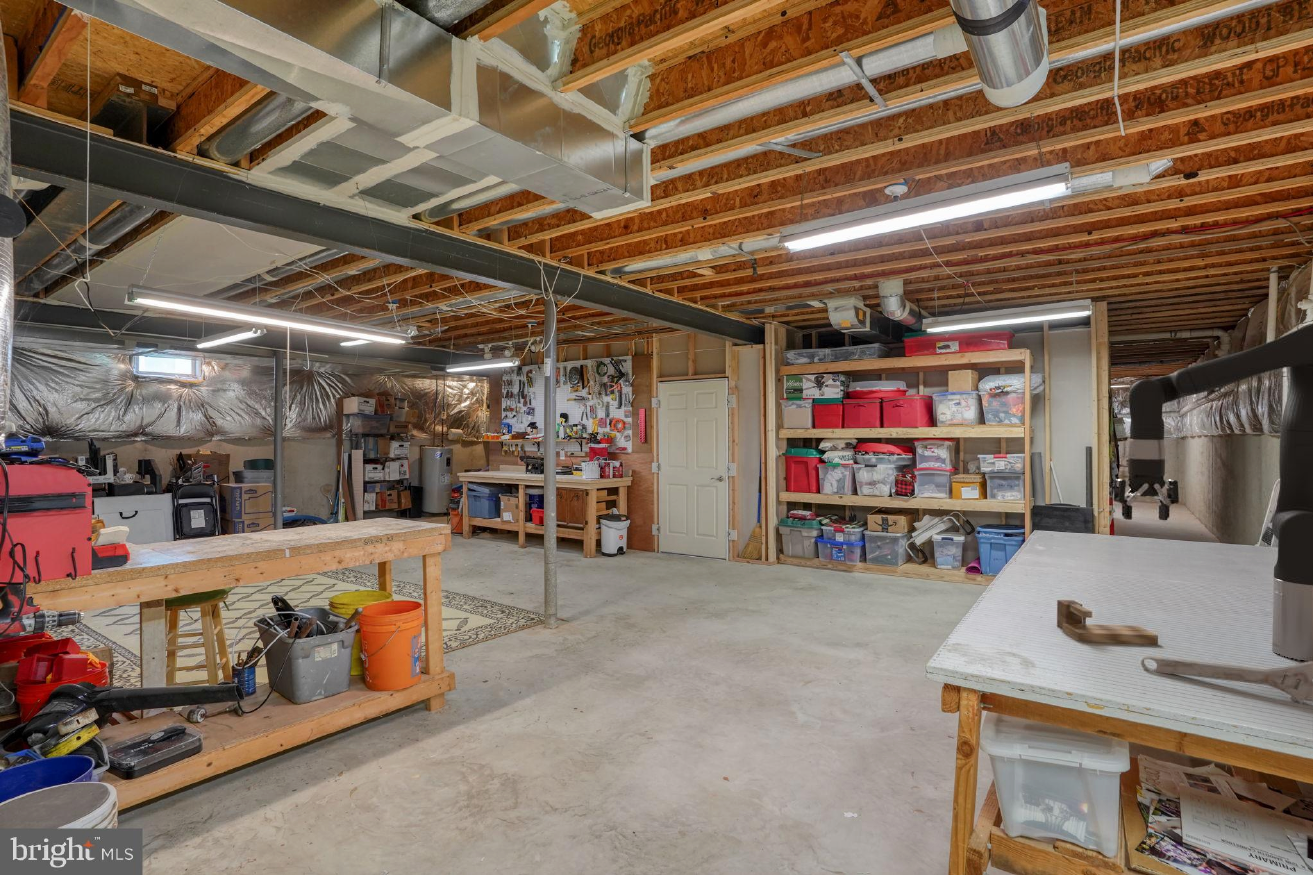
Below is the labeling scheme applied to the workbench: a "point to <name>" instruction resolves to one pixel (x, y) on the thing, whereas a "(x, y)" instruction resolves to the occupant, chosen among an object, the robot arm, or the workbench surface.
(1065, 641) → the workbench surface
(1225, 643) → the workbench surface
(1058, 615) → the gauge
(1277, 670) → the wrench
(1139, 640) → the board
